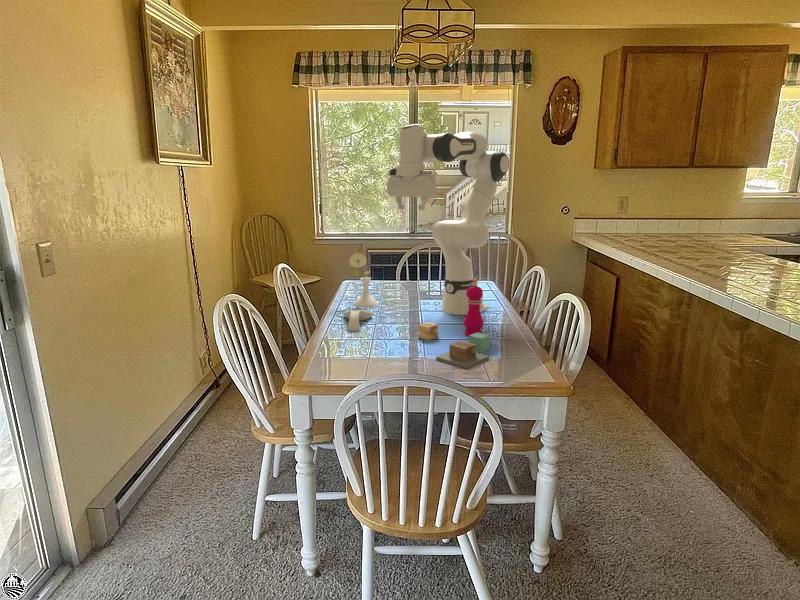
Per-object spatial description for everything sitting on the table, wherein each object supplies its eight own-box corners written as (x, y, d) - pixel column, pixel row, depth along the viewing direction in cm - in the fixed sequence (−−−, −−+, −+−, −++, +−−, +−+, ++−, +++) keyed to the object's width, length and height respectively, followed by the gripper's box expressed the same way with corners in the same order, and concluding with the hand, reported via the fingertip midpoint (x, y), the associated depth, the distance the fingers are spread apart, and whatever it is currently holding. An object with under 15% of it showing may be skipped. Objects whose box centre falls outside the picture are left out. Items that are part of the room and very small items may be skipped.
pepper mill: (479, 331, 192) (481, 279, 187) (485, 337, 185) (487, 283, 180) (461, 332, 190) (462, 280, 186) (466, 338, 184) (468, 284, 179)
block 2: (477, 346, 175) (477, 332, 174) (489, 349, 172) (489, 335, 171) (468, 349, 172) (469, 335, 171) (480, 352, 168) (481, 338, 167)
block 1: (427, 334, 188) (427, 322, 187) (437, 337, 185) (438, 324, 183) (418, 337, 184) (418, 324, 183) (429, 340, 181) (429, 327, 180)
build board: (458, 350, 170) (459, 347, 170) (488, 359, 162) (489, 356, 162) (436, 359, 162) (436, 356, 162) (466, 369, 154) (466, 365, 154)
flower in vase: (380, 305, 231) (379, 251, 226) (376, 311, 220) (376, 255, 215) (352, 305, 233) (350, 251, 227) (347, 311, 222) (345, 254, 216)
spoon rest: (346, 317, 213) (345, 300, 212) (373, 317, 213) (373, 300, 212) (339, 333, 190) (338, 315, 189) (370, 333, 190) (370, 315, 189)
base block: (460, 352, 166) (461, 340, 165) (475, 356, 162) (476, 344, 161) (449, 356, 162) (449, 344, 161) (464, 361, 158) (464, 348, 157)
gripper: (440, 170, 179) (439, 210, 182) (395, 171, 191) (395, 208, 194) (430, 170, 174) (429, 211, 177) (384, 171, 186) (384, 209, 190)
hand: (411, 209), depth 186 cm, fingers open, 8 cm apart
